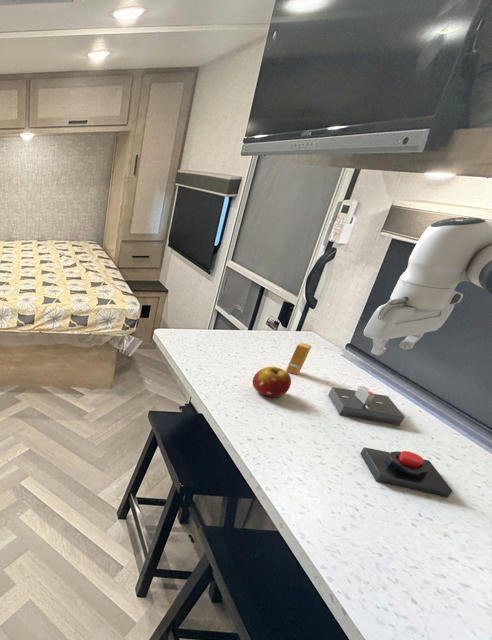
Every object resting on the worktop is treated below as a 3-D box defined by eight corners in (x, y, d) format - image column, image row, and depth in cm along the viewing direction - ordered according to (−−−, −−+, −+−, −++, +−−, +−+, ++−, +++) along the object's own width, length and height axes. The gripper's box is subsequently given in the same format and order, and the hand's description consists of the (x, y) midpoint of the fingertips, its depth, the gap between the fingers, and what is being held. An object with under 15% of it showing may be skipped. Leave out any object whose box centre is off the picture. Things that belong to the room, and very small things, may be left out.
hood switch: (424, 467, 92) (433, 454, 90) (447, 498, 84) (457, 484, 82) (359, 453, 96) (367, 440, 94) (375, 482, 88) (384, 468, 86)
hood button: (415, 459, 89) (419, 453, 88) (422, 469, 86) (427, 463, 85) (394, 455, 90) (398, 449, 89) (401, 465, 87) (405, 459, 87)
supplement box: (297, 375, 129) (308, 348, 124) (285, 371, 132) (296, 344, 127) (300, 372, 131) (312, 345, 126) (288, 368, 133) (299, 341, 129)
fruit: (265, 402, 116) (274, 379, 112) (242, 386, 123) (249, 364, 120) (293, 399, 117) (303, 375, 113) (268, 383, 125) (277, 361, 121)
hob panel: (382, 404, 114) (388, 395, 113) (399, 426, 105) (405, 416, 104) (328, 395, 119) (332, 386, 117) (339, 415, 110) (344, 405, 109)
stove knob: (354, 395, 113) (359, 384, 112) (359, 395, 113) (365, 385, 111) (363, 404, 109) (369, 393, 108) (369, 405, 109) (375, 394, 107)
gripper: (403, 305, 82) (374, 363, 88) (469, 294, 87) (436, 350, 93) (370, 295, 87) (344, 351, 94) (433, 286, 92) (405, 340, 99)
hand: (390, 351), depth 94 cm, fingers open, 8 cm apart
